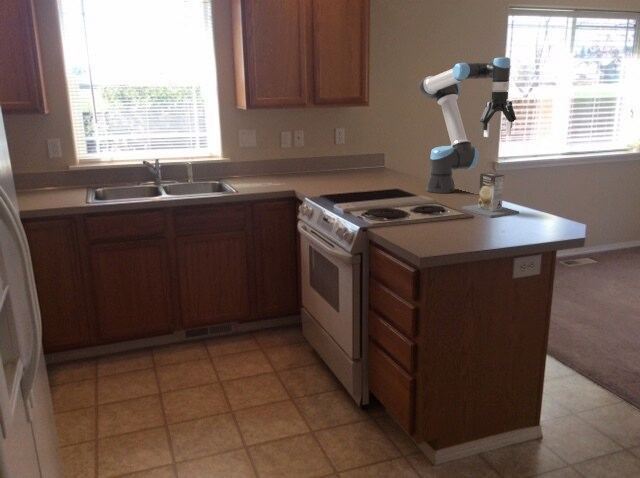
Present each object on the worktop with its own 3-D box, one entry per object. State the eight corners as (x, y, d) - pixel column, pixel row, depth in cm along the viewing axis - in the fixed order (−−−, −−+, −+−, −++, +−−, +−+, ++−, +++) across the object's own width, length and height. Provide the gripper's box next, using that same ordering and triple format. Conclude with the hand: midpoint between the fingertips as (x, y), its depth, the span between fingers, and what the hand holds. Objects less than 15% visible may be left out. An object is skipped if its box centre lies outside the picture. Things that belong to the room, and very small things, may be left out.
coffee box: (477, 208, 258) (479, 173, 253) (487, 206, 261) (489, 171, 256) (492, 211, 250) (494, 176, 246) (502, 209, 253) (505, 174, 249)
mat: (461, 208, 261) (461, 206, 261) (488, 204, 268) (488, 202, 267) (490, 217, 244) (490, 215, 244) (518, 213, 250) (519, 211, 250)
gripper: (484, 92, 261) (481, 138, 267) (525, 90, 270) (522, 135, 276) (473, 92, 267) (471, 137, 273) (514, 90, 277) (511, 133, 283)
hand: (497, 136), depth 275 cm, fingers open, 13 cm apart
